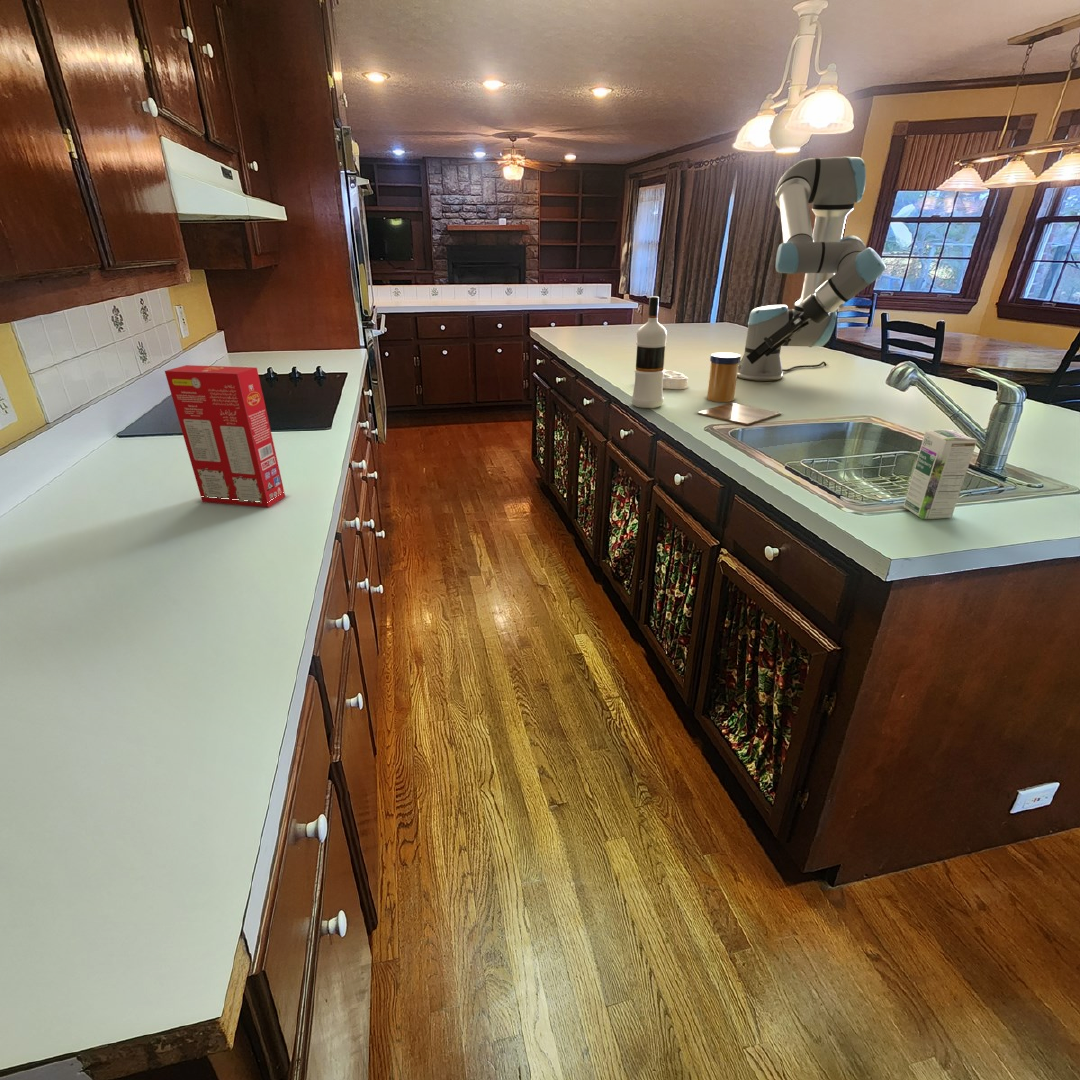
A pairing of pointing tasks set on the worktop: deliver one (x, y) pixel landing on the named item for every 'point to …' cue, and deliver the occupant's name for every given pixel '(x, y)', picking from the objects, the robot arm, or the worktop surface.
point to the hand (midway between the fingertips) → (757, 356)
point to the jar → (722, 382)
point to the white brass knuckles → (674, 380)
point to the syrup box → (939, 473)
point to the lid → (725, 358)
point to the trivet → (739, 413)
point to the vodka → (650, 361)
